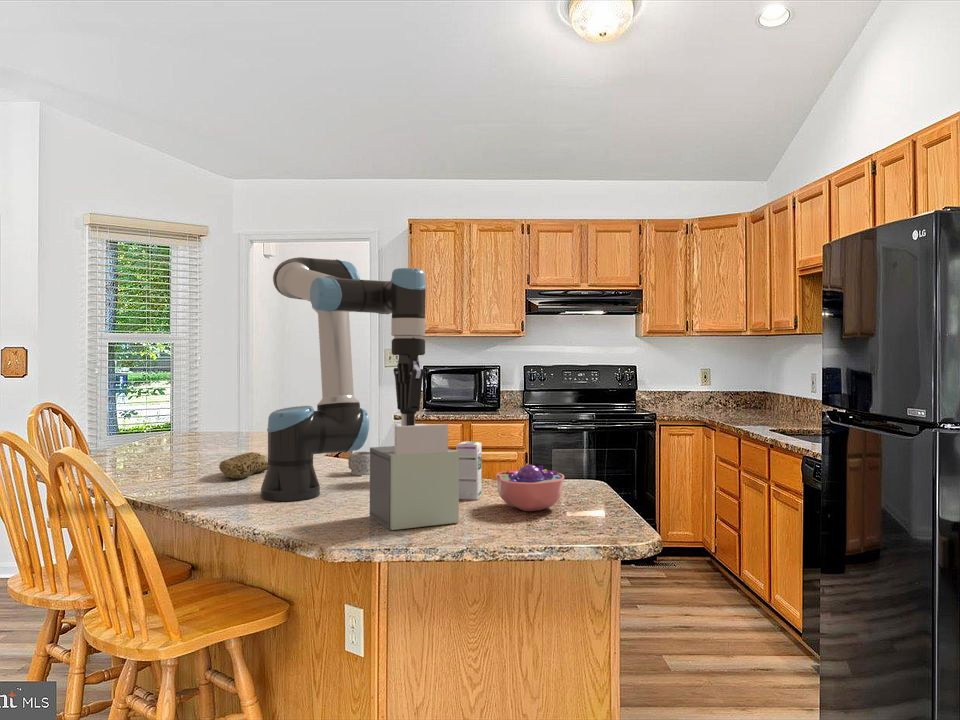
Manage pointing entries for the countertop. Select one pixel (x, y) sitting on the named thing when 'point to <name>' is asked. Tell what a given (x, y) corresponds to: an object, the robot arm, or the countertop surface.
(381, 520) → the box
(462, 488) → the syrup box
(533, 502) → the cell model
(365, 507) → the countertop surface
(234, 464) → the sponge
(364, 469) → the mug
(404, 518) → the side door
